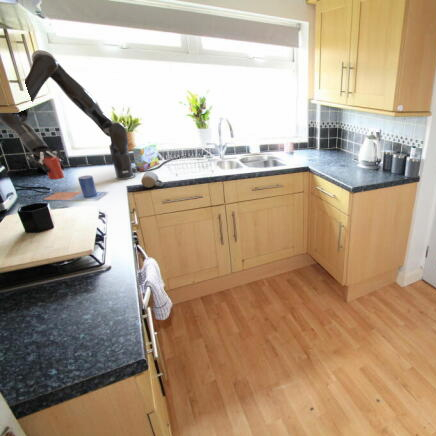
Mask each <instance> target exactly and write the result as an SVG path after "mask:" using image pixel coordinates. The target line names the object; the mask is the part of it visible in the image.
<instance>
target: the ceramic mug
mask: <svg viewBox="0 0 436 436" xmlns="http://www.w3.org/2000/svg"><path fill="white" fill-rule="evenodd" d="M140 182H141V185H142V186H143V187H145V188H147V189H151V188H154V187H163V186H164V181H162V180H160V179H159V177H158V175H157V174H156V173H155V172H153V171H146V172H144V174H143V176H141V181H140Z"/></svg>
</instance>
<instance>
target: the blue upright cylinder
mask: <svg viewBox="0 0 436 436" xmlns="http://www.w3.org/2000/svg"><path fill="white" fill-rule="evenodd" d="M78 183H79V187H80V189H81V192H82V193H83V197H85V198H90V197H95V196H97V192H98V191H97V187H96V183H95V180H94V176H93V175H81V176H78Z"/></svg>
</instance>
